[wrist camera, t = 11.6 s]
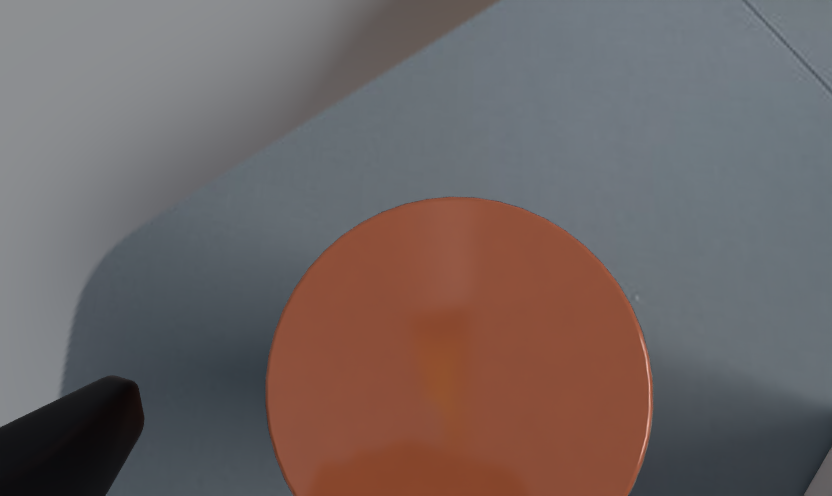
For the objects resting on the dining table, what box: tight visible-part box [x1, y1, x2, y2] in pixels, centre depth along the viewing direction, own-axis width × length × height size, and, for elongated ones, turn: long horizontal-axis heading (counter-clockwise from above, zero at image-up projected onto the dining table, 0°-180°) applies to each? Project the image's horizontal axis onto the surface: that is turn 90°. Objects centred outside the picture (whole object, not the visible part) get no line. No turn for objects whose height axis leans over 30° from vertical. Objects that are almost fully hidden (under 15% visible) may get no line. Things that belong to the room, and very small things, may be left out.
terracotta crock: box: [265, 197, 654, 496], centre depth 15 cm, size 6×6×13 cm
